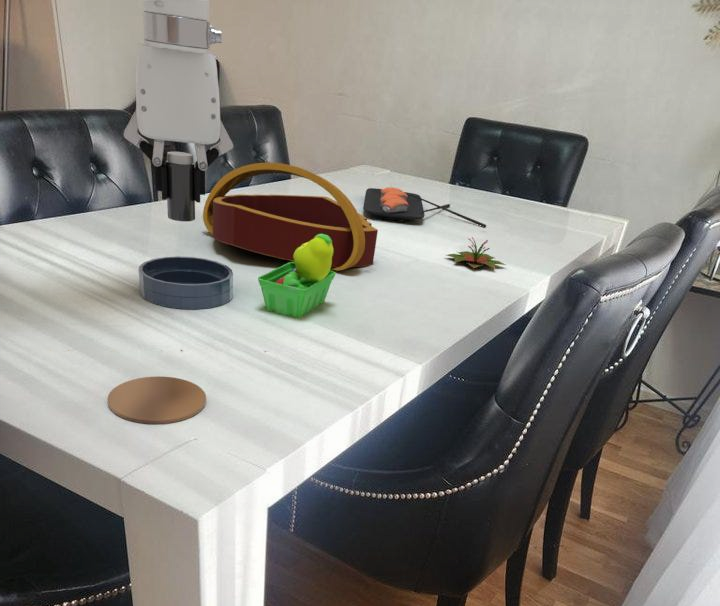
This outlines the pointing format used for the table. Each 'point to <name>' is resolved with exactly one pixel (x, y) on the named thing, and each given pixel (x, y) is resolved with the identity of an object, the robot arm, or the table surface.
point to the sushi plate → (400, 205)
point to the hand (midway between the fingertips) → (180, 197)
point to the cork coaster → (156, 400)
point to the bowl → (186, 282)
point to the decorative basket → (288, 219)
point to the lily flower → (476, 257)
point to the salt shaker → (180, 186)
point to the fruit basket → (300, 279)
